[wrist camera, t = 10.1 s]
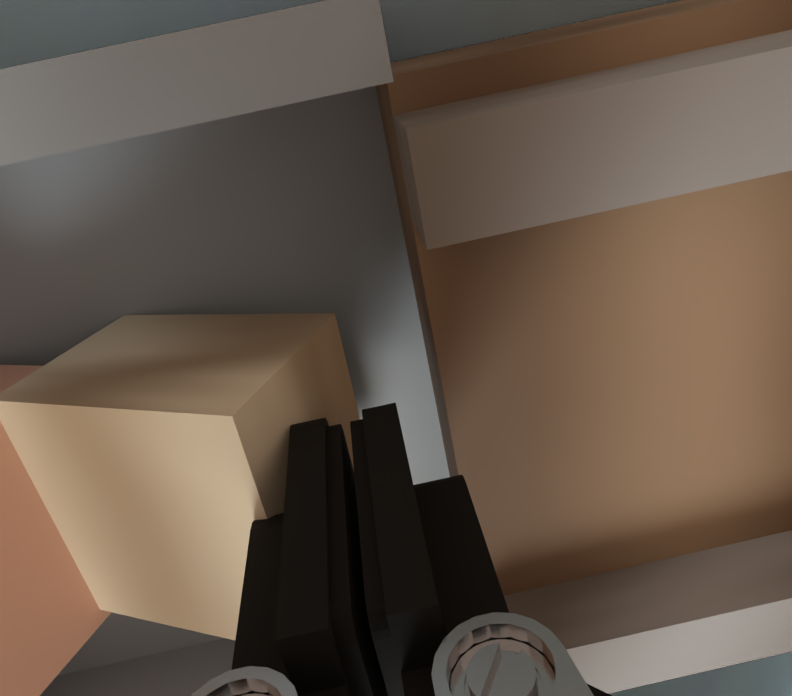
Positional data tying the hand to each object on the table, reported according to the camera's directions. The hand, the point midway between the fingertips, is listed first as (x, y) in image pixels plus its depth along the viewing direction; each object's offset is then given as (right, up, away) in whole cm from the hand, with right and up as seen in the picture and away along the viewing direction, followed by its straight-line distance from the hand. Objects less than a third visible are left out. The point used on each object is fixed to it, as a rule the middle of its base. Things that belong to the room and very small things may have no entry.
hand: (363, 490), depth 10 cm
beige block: (-2, +1, +2) cm, 3 cm away
